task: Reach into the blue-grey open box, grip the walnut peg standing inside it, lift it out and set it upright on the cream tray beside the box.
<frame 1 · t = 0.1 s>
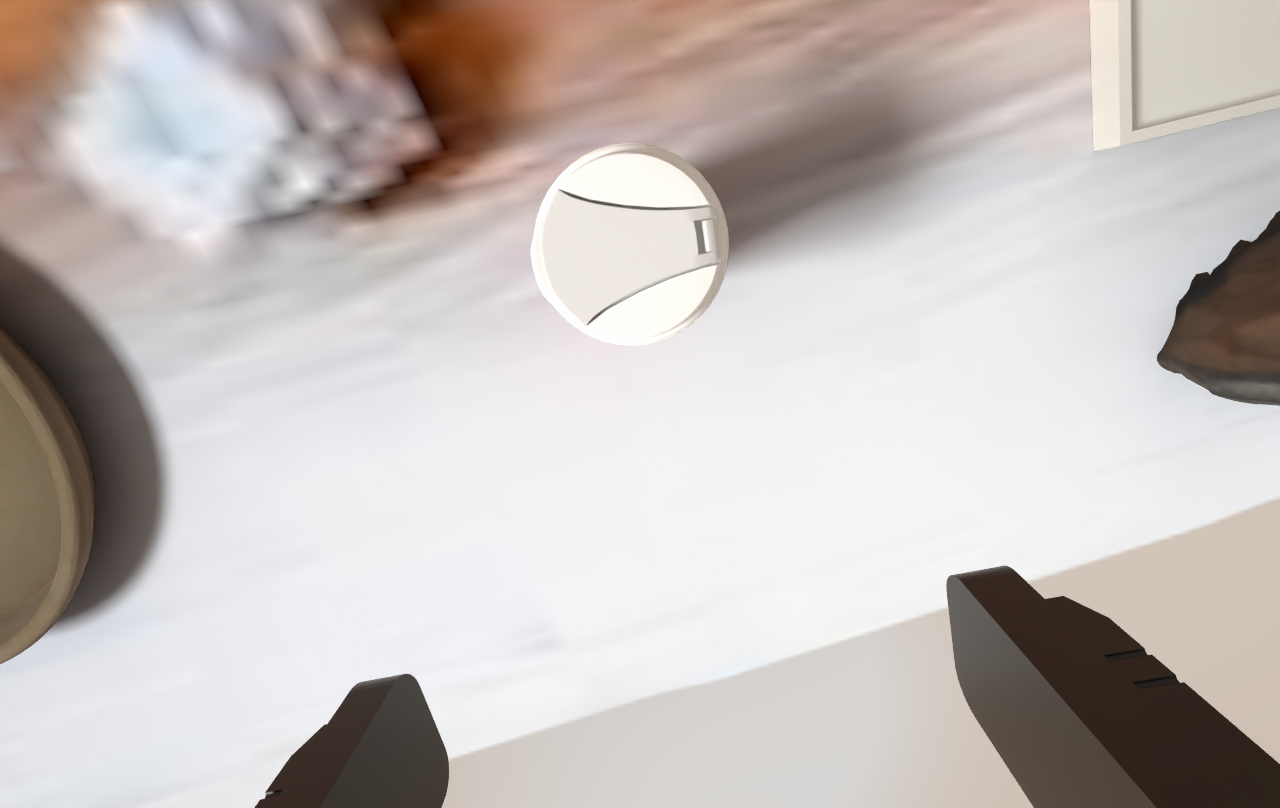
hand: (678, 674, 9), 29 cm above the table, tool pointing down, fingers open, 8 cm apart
paper cup: (640, 244, 35), on the table
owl: (1269, 318, 35), on the table
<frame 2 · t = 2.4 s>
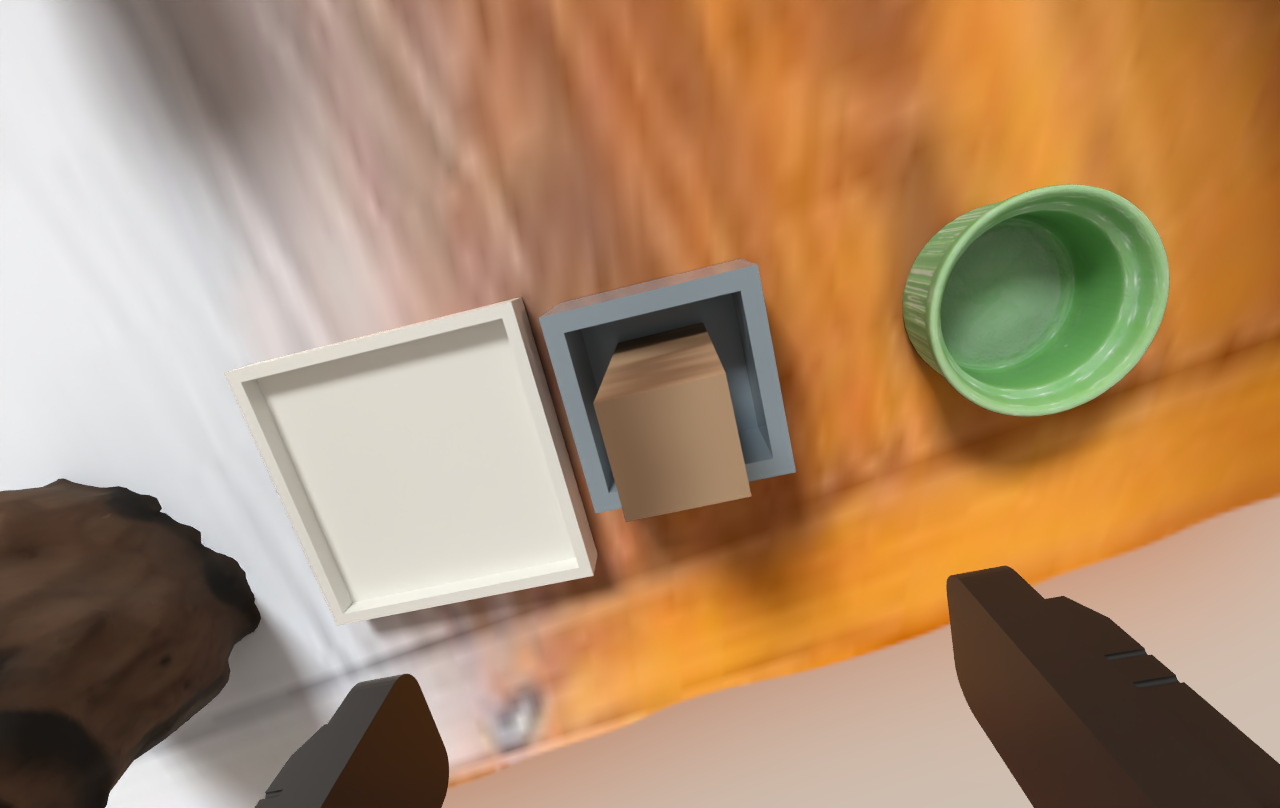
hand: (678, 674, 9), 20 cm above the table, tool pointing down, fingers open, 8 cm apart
cream tray: (431, 462, 30), on the table
walnut peg: (669, 374, 27), point 1 cm above the table, touching blue-grey open box
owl: (136, 579, 33), on the table
ramekin: (986, 295, 27), on the table
blue-grey open box: (669, 369, 28), on the table
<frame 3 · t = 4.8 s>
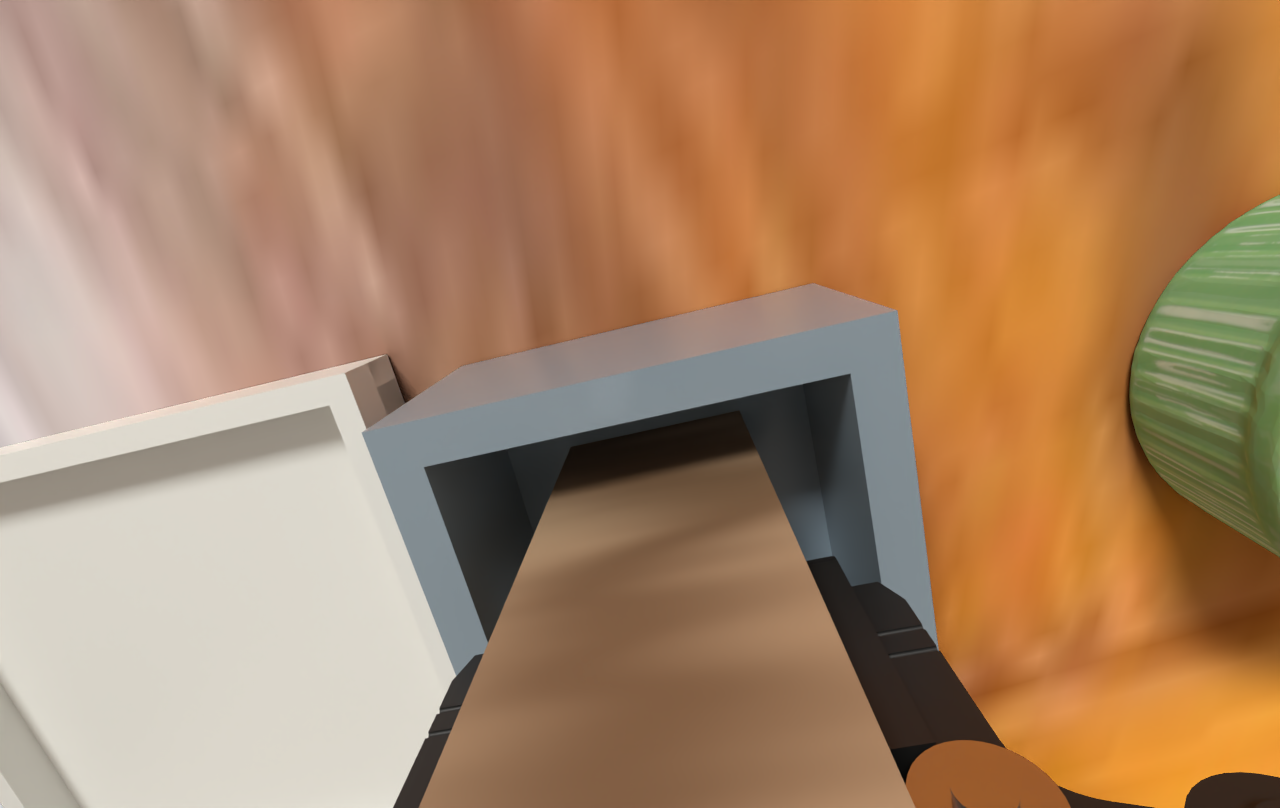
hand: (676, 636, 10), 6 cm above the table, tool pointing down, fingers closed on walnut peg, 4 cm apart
cream tray: (245, 642, 17), on the table
walnut peg: (672, 505, 14), point 1 cm above the table, touching blue-grey open box, gripper
blue-grey open box: (672, 488, 15), on the table
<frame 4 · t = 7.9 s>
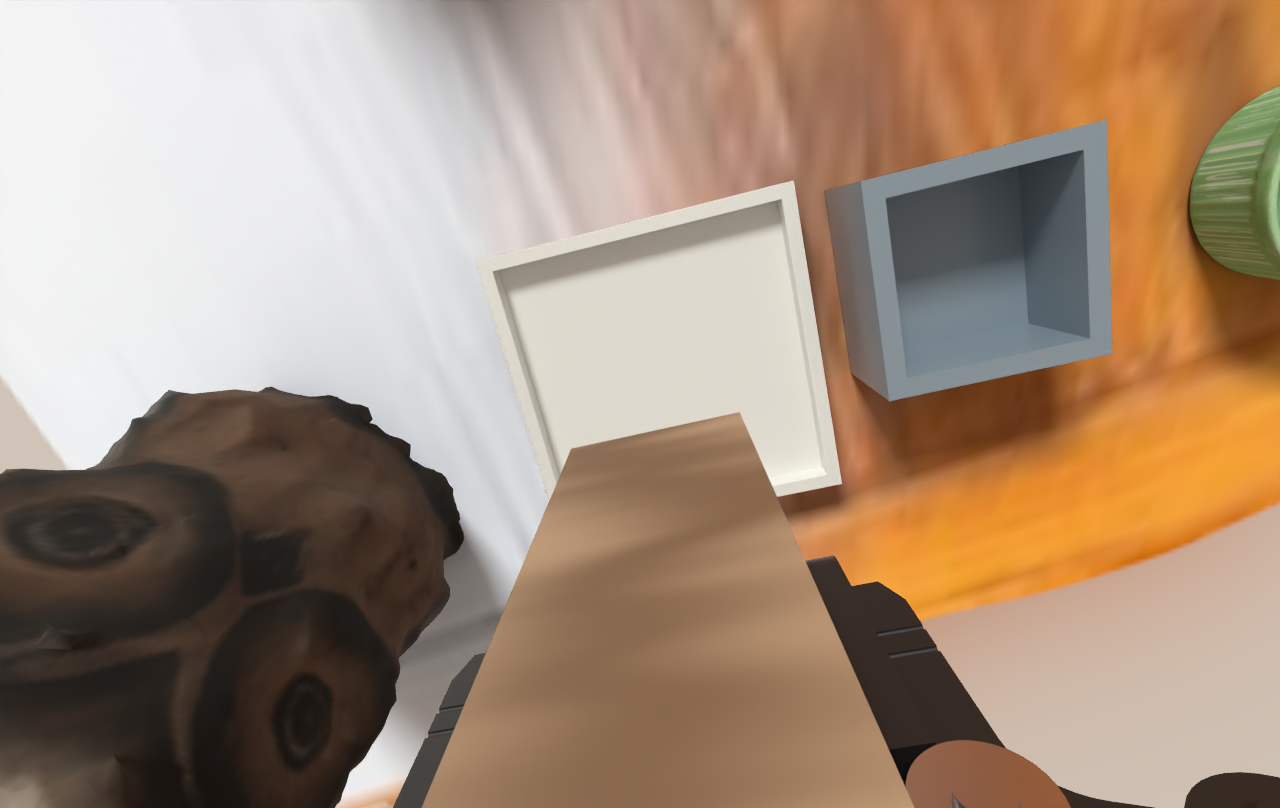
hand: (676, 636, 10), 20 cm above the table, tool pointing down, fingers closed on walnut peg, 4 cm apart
cream tray: (666, 367, 29), on the table
walnut peg: (673, 507, 14), point 15 cm above the table, touching gripper
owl: (335, 497, 32), on the table
ramekin: (1275, 182, 26), on the table
blue-grey open box: (931, 263, 27), on the table
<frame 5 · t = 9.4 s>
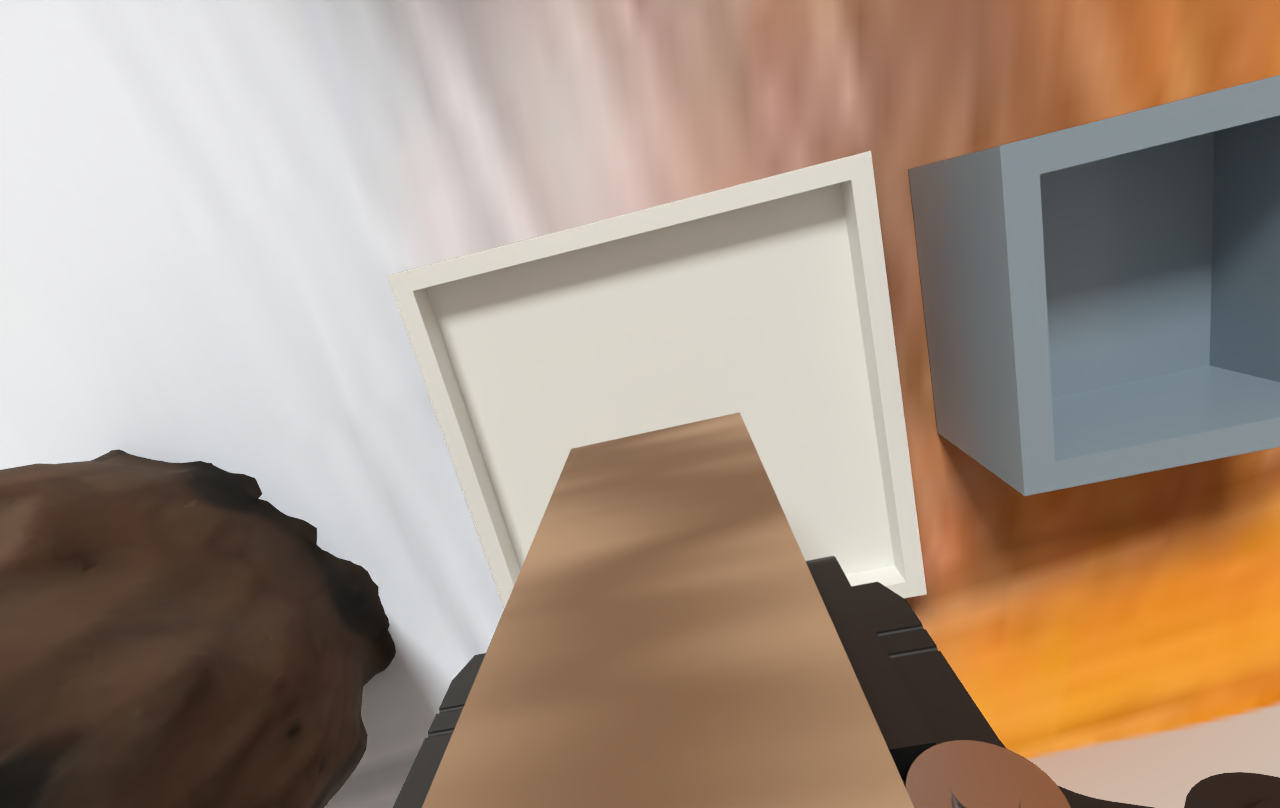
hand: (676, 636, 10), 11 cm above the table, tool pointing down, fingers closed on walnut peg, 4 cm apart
cream tray: (672, 424, 20), on the table
walnut peg: (673, 507, 14), point 6 cm above the table, touching gripper
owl: (218, 596, 23), on the table
blue-grey open box: (1063, 277, 18), on the table
when the fingers open (7 cm above the table, at t = 11.0 s): walnut peg drops 1 cm, resting on cream tray.
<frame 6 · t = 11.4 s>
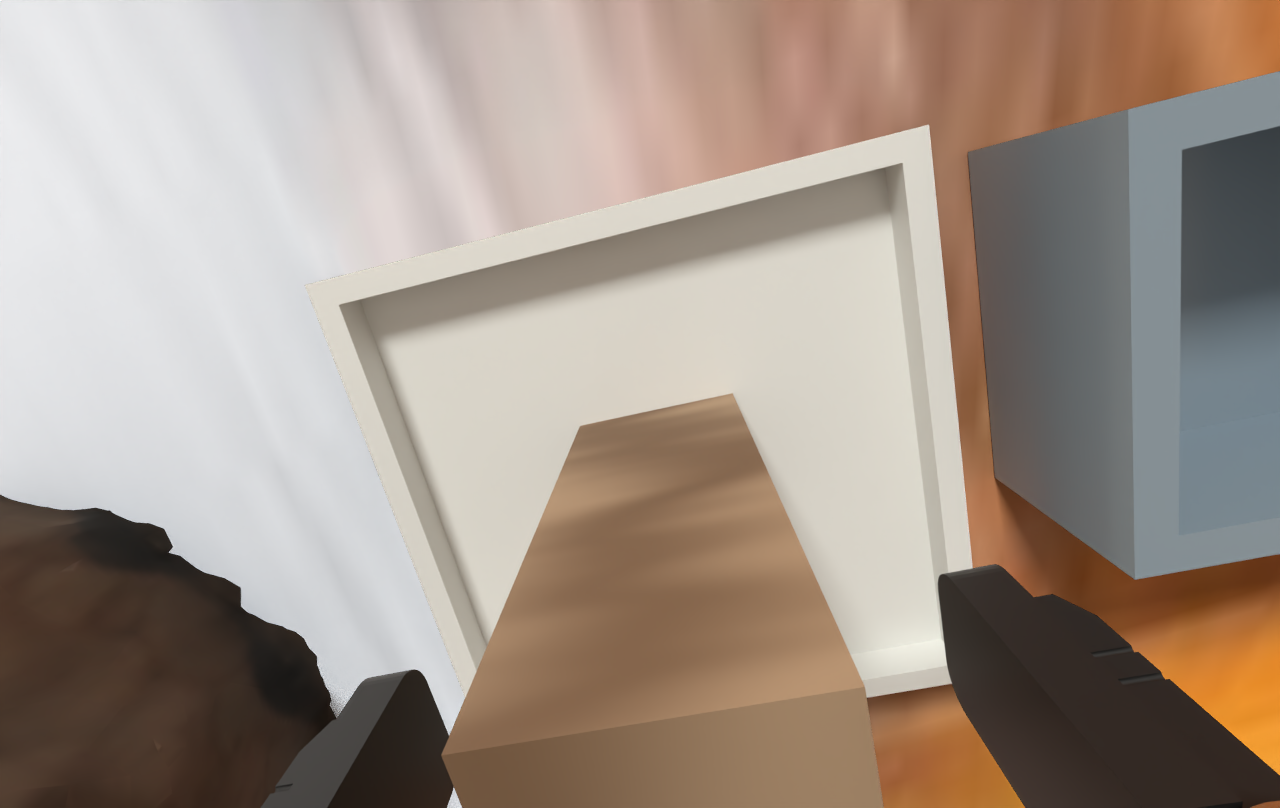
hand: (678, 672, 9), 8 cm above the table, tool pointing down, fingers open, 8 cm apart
cream tray: (669, 466, 16), on the table
walnut peg: (671, 480, 16), point 1 cm above the table, touching cream tray
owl: (127, 664, 19), on the table
blue-grey open box: (1158, 287, 15), on the table
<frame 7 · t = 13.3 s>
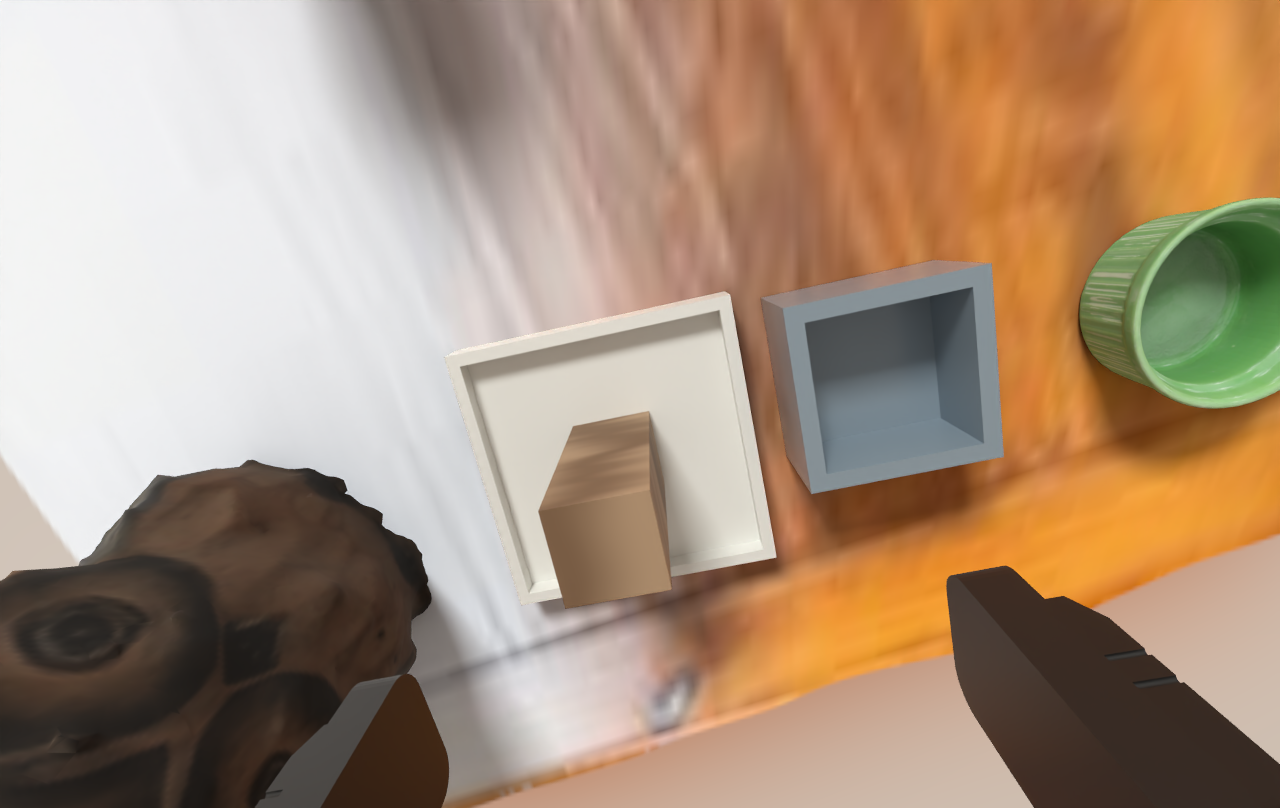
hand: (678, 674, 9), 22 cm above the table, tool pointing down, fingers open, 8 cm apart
cream tray: (619, 448, 32), on the table
walnut peg: (619, 454, 31), point 1 cm above the table, touching cream tray
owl: (310, 560, 34), on the table
ramekin: (1153, 298, 29), on the table
blue-grey open box: (856, 362, 30), on the table
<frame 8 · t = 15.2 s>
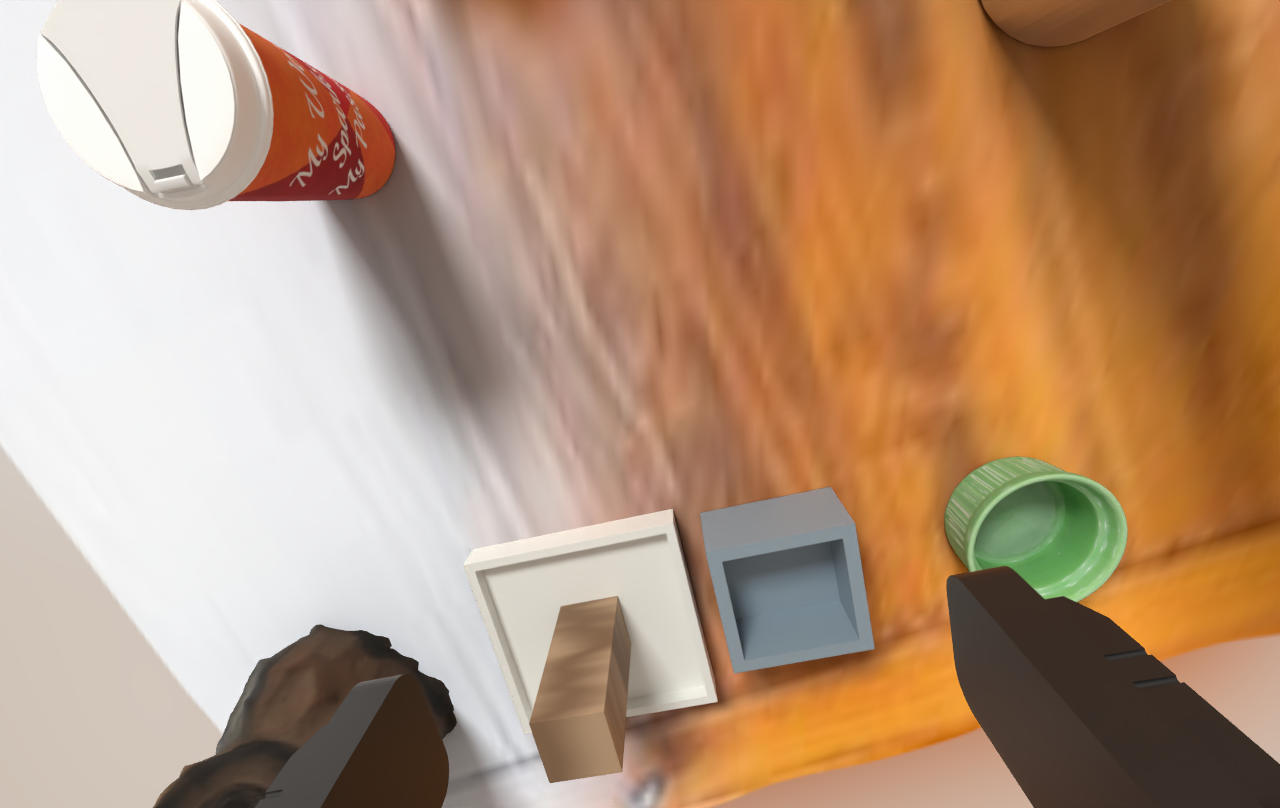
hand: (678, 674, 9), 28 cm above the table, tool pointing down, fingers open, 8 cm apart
paper cup: (349, 146, 33), on the table
cream tray: (597, 616, 41), on the table
walnut peg: (596, 625, 40), point 1 cm above the table, touching cream tray
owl: (364, 694, 44), on the table
ramekin: (1002, 510, 38), on the table
blue-grey open box: (775, 557, 40), on the table
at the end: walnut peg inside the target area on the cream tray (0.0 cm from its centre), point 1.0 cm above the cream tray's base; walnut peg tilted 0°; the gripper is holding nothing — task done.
